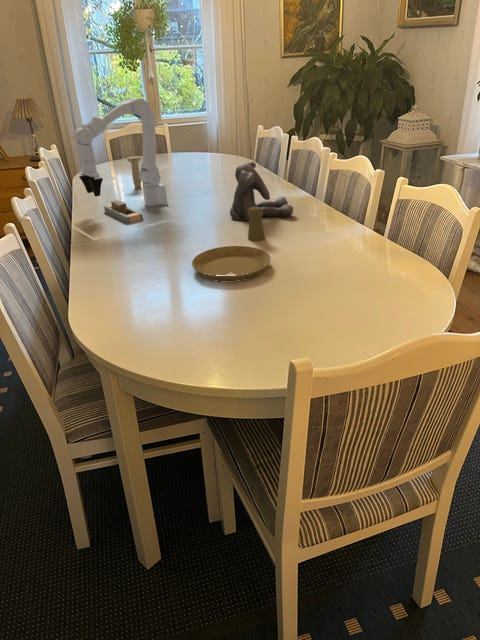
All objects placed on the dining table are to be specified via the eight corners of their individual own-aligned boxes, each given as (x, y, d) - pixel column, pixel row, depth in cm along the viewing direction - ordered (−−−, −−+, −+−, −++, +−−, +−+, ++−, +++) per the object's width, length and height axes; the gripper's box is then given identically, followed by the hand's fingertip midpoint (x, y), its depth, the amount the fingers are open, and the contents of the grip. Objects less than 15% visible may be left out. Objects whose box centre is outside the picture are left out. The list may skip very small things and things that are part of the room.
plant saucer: (244, 291, 145) (243, 280, 143) (176, 277, 157) (175, 266, 155) (284, 262, 163) (284, 252, 161) (221, 251, 174) (220, 241, 173)
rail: (121, 210, 223) (120, 202, 222) (144, 221, 207) (143, 213, 206) (104, 214, 219) (102, 206, 218) (126, 226, 203) (125, 217, 202)
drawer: (119, 211, 219) (117, 200, 216) (127, 215, 213) (126, 203, 210) (113, 213, 217) (111, 201, 215) (121, 217, 211) (119, 205, 209)
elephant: (294, 221, 199) (294, 166, 189) (229, 224, 200) (226, 169, 190) (290, 206, 217) (290, 155, 207) (231, 209, 218) (228, 158, 208)
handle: (144, 188, 257) (140, 157, 250) (131, 189, 256) (126, 158, 249) (144, 186, 261) (140, 155, 254) (132, 187, 260) (127, 156, 253)
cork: (267, 235, 185) (266, 205, 180) (262, 241, 180) (261, 210, 175) (250, 234, 187) (249, 204, 182) (245, 240, 182) (244, 209, 177)
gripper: (71, 159, 209) (77, 193, 215) (84, 164, 198) (91, 199, 205) (87, 156, 212) (93, 189, 219) (102, 161, 202) (108, 195, 208)
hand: (93, 194), depth 212 cm, fingers open, 7 cm apart
